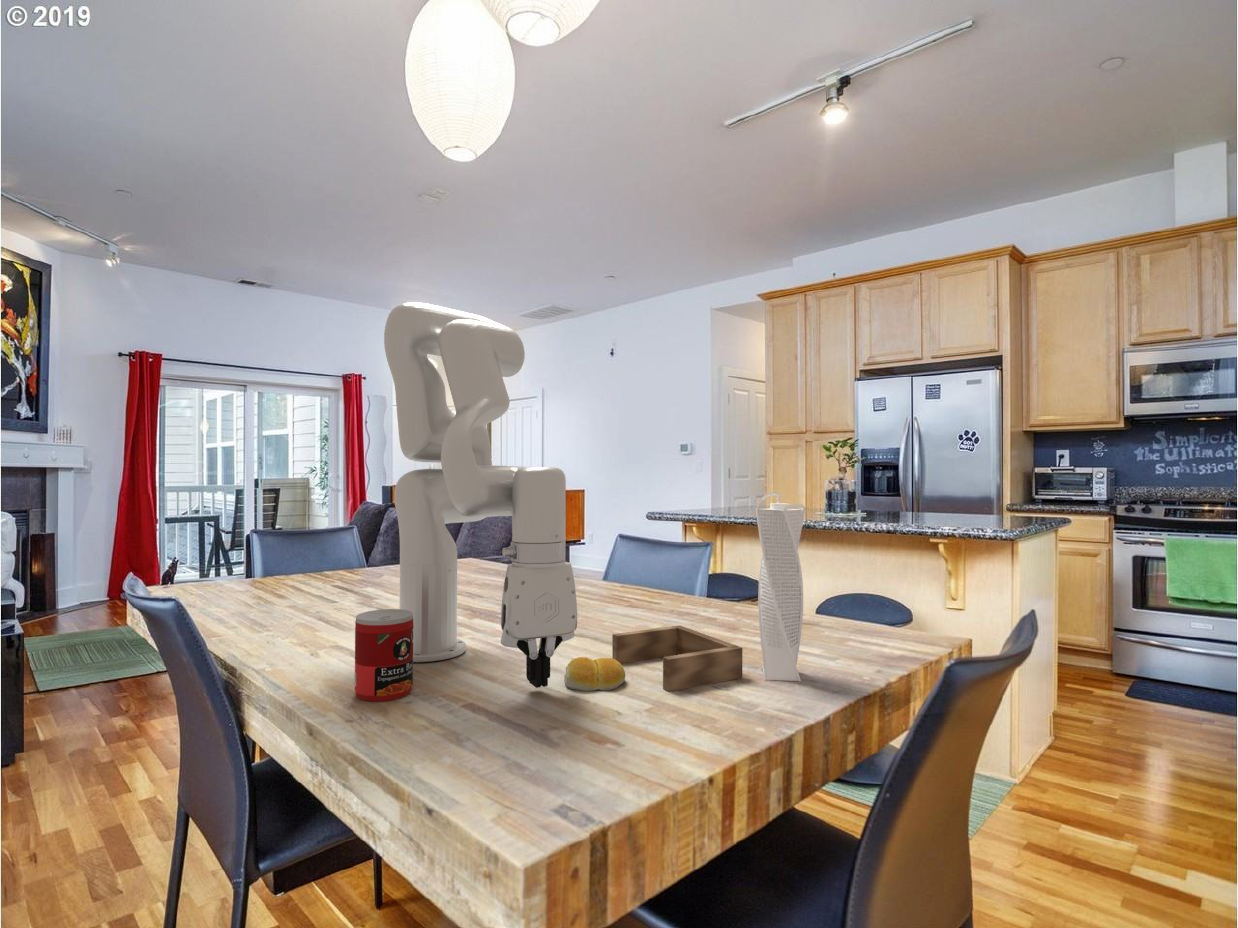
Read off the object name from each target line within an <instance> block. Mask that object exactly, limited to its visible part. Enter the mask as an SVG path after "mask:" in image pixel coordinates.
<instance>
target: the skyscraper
mask: <svg viewBox="0 0 1238 928" xmlns="http://www.w3.org/2000/svg"><path fill="white" fill-rule="evenodd" d="M768 497H776V502H770V505H769V507H768V508H759V507H760V506H761V503H762V501H764V499H766V498H768ZM780 498H781V495H780V494H779V493H778V492H769V493H766V494H763V496H761V498H760V499H759V500H758V502H757V504H756V507H755V516H756V521H757V529H758V536H759V541H760V547H761V552H762V554H761V555H762V556H761V560H760V565H759V566H760V567H759V574H758V575H759V576H758V591H757V592H758V595H757V597H758V598H757V600H758V601H757V602H758V606H757V607H758V625H759V634H760V635H759V637H760V645H761V656H762V666H761V669H760V670H761V671H762V672H763V675H764V680H765V681H787V682H789V681H791V682H801V681H802V680H801V677H800V673H799V670H798V667H797V662H798V658H799V652H800V646H801V639H802V638H801V637H802V629H803V618H804V617H803V615H804V581H803V580H804V579H803V572H802V571H803V570H802V566H801V560H800V556H799V545H800V540H801V535H802V530H803V524H804V518H805V513H806V507H805V505H804V504H802V503H793V504H790V503H788V502H787V503H786V502H785V503H784V502H780ZM798 508H799V509H798Z"/></svg>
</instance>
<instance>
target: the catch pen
mask: <svg viewBox="0 0 1238 928" xmlns="http://www.w3.org/2000/svg"><path fill="white" fill-rule="evenodd" d="M611 639H612V642H611V643H612V654H611V655H612V659H615V660H617V661H618V662H619V663H620V664H624V663H632V662H637V661H643V660H649V659H650V660H651V659H657V658H662V689H663V690H664V691H666V692H672V691H677V690H678V691H679V690H683V689H690V688H694V687H698V686H705V685H710V684H715V683H721V682H726V681H732V680H736V679H737V680H738V679H742V678H743V647H741V646H738V645H735V644H733V643H730V642H727V641H725V640H722V639H719V638H716V637H713V636H710V635H708V634H705V633H703V632H699V631H696V630H693V629H691V628H688V627H686V626H684V625H683V626H682V625H673V626H667V627H666V626H665V627H658V628H657V627H656V628H649V629H643V630H633V631H628V632H620V633H619V632H618V633H612V638H611ZM676 654H677V655H676Z"/></svg>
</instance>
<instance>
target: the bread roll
mask: <svg viewBox="0 0 1238 928" xmlns="http://www.w3.org/2000/svg"><path fill="white" fill-rule="evenodd" d="M625 680H626V671H625V669H624V666H623V665H622V663H619V662H618V661H617V660H615V659H612V658H611V657H601V658H595V659H592V658H589V657H585V656H584V657H583V656H582V657H581V656H579V657H578V656H577V657H576V658H572V659H571V660H570V661H569V662H568V664H567V666H566V667H565V675H564V683H565V685H566V687H567V688H568V689H571V690H575V689H576V690H577V691H581V690H582V691H585V692H591V691H593V692H594V691H597V690H600V691H610V690H615V689H617V688H619V687H620V686H621V685H623V683H624V682H625ZM618 686H619V687H618Z"/></svg>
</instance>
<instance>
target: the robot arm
mask: <svg viewBox="0 0 1238 928" xmlns="http://www.w3.org/2000/svg"><path fill="white" fill-rule="evenodd" d="M383 331H384V332H383V334H384V335H383V345H384V353H385V357H386V360H387V364H388V368H389V370H390V373H391V377H392V380H393V381H392V382H393V384H394V391H395V402H396V417H397V418H396V419H397V429H398V439H399V446H400V450H401V452H402V454H403V456H404V457H405V458H406V459H408V460H410V461H414V462H419V463H421V462H422V463H434V464H435V463H437V464H439V463H440V466H441V468H423V469H422V468H421V469H415V470H411V471H408V472H406V473H405V474H403V475H402V476H401V477H400V478H399V479H397V482H396V484H395V487H394V492H393V493H394V496H393V497H394V499H393V500H394V507H395V511H396V512H395V513H396V516H397V517H396V518H397V522H398V523H397V524H398V531H399V532H398V533H399V609H401V610H408V611H411V612H412V613H413V625H414V626H413V663H429V662H437V661H444V660H449V659H452V658H456V657H458V656H461V655H462V654H464V653H465V651H466V650H467V648H466V647H467V644H466V642H465V641H464V640H462V639H459V638H458V626H457V625H458V623H457V622H458V549H457V545H456V542H455V540H454V538H453V536H452V535H451V533H450V532H449V529H448V528H447V527H446V524H457V523H459V524H460V523H471V522H479V521H481V520H484V519H485V518H488V517H489V518H492V517H511V529H512V531H511V534H512V535H511V541H510V545H509V546H508V547H503V548H502V551H501V553H502V558H508V559H510V561H511V563H508V564H507V566H506V567H507V568H506V571H505V576H504V582H503V589H502V597H501V609H500V626H501V627H500V628H501V630H502V633H501V638H500V644H501V645H502V646H503V647H506V648H513V649H519V650H520V651H521V652H522V653H523V654H524V656H526V658H525V659H526V660H525V661H526V672H525V673H526V679H527V681H528V682H529V684H530V685H532V686H533V687H535V689H539V688H541V687H548V684H549V680H548V679H549V678H550V677H551V658H553V656H554V654H555V651H556V650H557V648H558V647H559V646H560V644H562V643H564V642H566V641H568V640H571V639H574V637H575V631H576V630H577V627H578V602H577V591H576V590H577V589H576V584H575V577H574V571H573V566H572V563H571V562H568V561H566V531H567V529H566V527H567V526H566V523H567V522H566V521H567V520H566V519H567V518H566V517H567V516H566V510H567V509H566V508H567V507H566V500H567V499H566V495H567V494H566V493H567V491H566V490H567V488H566V486H567V484H566V483H567V482H566V481H567V480H566V474H565V472H564V471H563V470H562V469H561V468H558V467H554V466H553V467H552V466H551V467H550V466H521V465H519V466H517V465H515V466H514V465H512V466H511V465H493V461H492V451H491V441H490V435H489V432H488V429H487V426H486V425H487V424H489V423H491V422H494V421H496V420H498V419H499V418H501V417H502V416H504V414H505V413H506V412H507V411H508V410H509V407H510V397H509V394H508V391H507V387H506V384H505V381H504V378H510V377H513V376H515V375H517V374H518V373H519V372H520V371H521V370H522V367H523V365H524V363H525V355H526V354H525V347H524V343H523V341H522V339H521V337H520V335H519V334H518V333H517V332H516V331H515V330H514V329H512V328H511V327H508V326H506V325H503V324H502V323H499V322H496V321H493V320H491V319H489V318H487V317H485V316H481V315H479V314H474V313H471V312H466V311H463V310H457V309H453V308H449V307H444V306H440V305H436V304H435V305H434V304H430V303H424V302H404V303H400V304H397V305H396V306H395V307H393V308H392V309H391V311H390V312H389V314H388V316H387V318H386V322H385V326H384V330H383ZM428 355H433V356H438V357H440V358H441V361H442V365H443V369H444V373H445V376H446V380H447V383H448V387H449V390H450V395H451V398H452V402H453V406H454V409H455V410H451V409H450V408H449V406H448V403H447V397H446V385H445V382H444V380H443V378H442V376H441V374H440V372H439V370H438V369H437V367H435V365H434V364H433V362H432V361H430V359H429V358H428ZM503 377H504V378H503ZM537 639H539V645H538V644H537Z"/></svg>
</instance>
